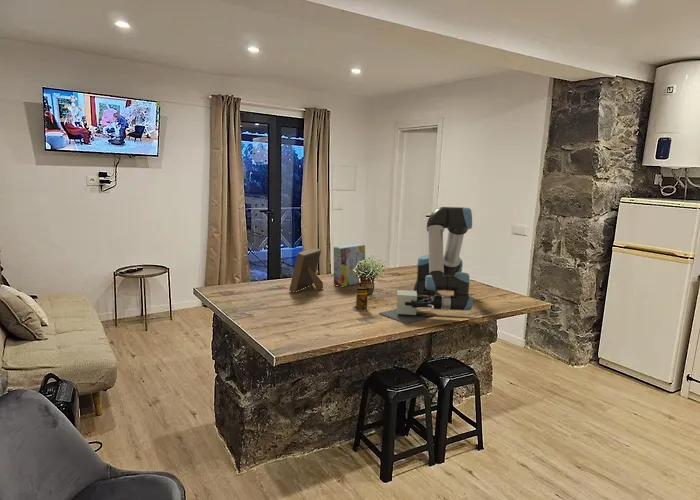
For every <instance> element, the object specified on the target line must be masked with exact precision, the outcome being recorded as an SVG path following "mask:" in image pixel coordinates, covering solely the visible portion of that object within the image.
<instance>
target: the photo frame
mask: <svg viewBox="0 0 700 500" xmlns="http://www.w3.org/2000/svg"><path fill="white" fill-rule="evenodd" d="M321 251H322V250H321V249H319V248H316V247H314V248H311V249H306V250H303V251H299V252H298V253H297V254H296V259H295V264H294V269H293V272H292V277H291V281H290V285H289V289H288V291H289V292H291V291H294V292H296V291H298V290H301V289H303V288H305V287H308V286H310V285H312V284H313V286H314V287H315V289H316V290H317V289H321V290H323V289H324V282H323V281H322V280H321V279H320V278H319V276H318V275H317V274H316V273H317V269H318V264H319V261H320V257H321V253H322V252H321ZM310 287H311V286H310ZM308 288H309V287H308ZM322 288H323V289H322ZM303 290H304V289H303ZM301 291H302V290H301ZM294 292H293V293H294Z"/></svg>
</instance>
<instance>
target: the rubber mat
mask: <svg viewBox="0 0 700 500" xmlns="http://www.w3.org/2000/svg"><path fill="white" fill-rule="evenodd" d="M378 314H379V315H380V316H383V317H386V318H388V319H392V320H394V321H397V322H399V323H402V324H405V325H408V324H412V323H417V322H420V321H423V320H428V319H431V318H434V316H433V315H423V314H421V315H419V314H416V315H410V314H397V308H394V309H389V310H385V311H381V312H378Z"/></svg>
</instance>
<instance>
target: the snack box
mask: <svg viewBox="0 0 700 500" xmlns="http://www.w3.org/2000/svg"><path fill="white" fill-rule="evenodd" d="M362 260H365V261H366V245H365V244H362V243H361V244H360V243H353V244H346V245H339V246H334V247H333V285H334V284H335V285H338V286H337V287H339V286H341V287H340V288H343V287H342V286H345V287H348V286H347V285H349V286H352V284H354V285H358V284H360V283H359V277H358V275H357V274H355V273H354V272H353V269H354V268H355V267H356V265H357V263H358V261H362ZM357 283H358V284H357ZM335 285H334V286H335Z"/></svg>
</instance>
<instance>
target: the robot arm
mask: <svg viewBox="0 0 700 500" xmlns="http://www.w3.org/2000/svg"><path fill="white" fill-rule="evenodd" d="M472 213H473V212H472V209H471V208H469V207H464V206H462V207H455V206H454V207H453V206H451V207H450V206H440V207H438V208H436V209H434V210H433V212H432V213H430V215H429V217H428V219H427V222H426V232H427V233H428V254H425V255H421V256H419V257H418V259H417V264H416V265H417V268H416V269H417V270H416V271H417V272H416V281H415V283H414V287H413V289H412V291H416V292H417V301H413V300H412V301H408V300H398V306H412V307H413V308H416V309H418V308H419V309H421V308H431V309H432V305H433V306H434V308H433V309H434V310H445V311H448V310H449V311H451V310H452V311H465V312H466V311H471V310H473V305H474V303H473V301H474V299H473V296H471V295H469V291H470V283H471V282H470V274H469V273H467V272H462V270H463V267H464V266H463V260H462V258H461V257H460V253H461V250H462V244H463V240H464V236H465V234H467V232H468V230H471V229H473V214H472ZM445 229H447V231H448V234H447V240H446V245H445V251H444V236H443V235H444V232H445ZM439 291H447V292H453V294H439ZM431 296H433V297H431Z"/></svg>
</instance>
